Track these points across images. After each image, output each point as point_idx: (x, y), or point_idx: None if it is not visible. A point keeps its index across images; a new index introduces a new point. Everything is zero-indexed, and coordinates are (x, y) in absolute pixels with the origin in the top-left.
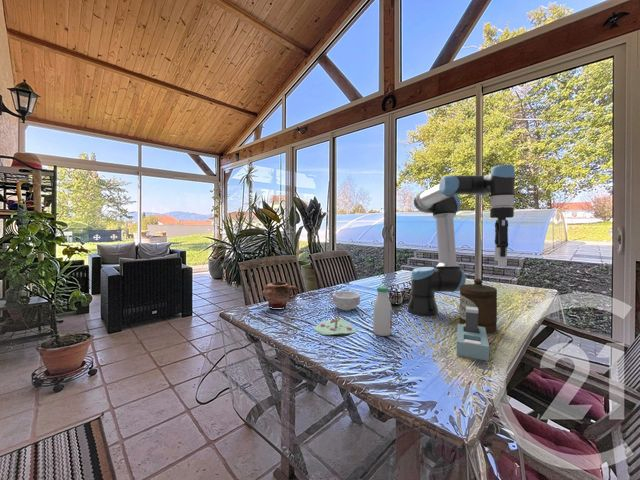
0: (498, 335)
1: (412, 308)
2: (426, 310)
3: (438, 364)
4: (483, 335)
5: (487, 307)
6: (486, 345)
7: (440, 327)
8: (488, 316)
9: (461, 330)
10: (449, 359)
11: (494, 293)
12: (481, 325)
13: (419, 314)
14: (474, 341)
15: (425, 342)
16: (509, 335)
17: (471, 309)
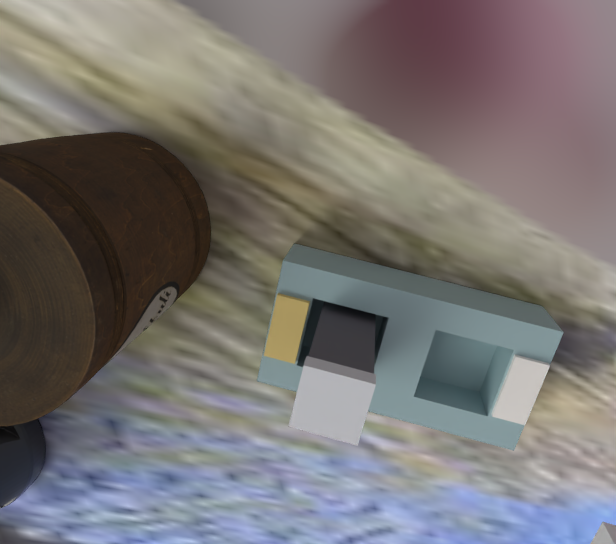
0: (222, 154)
1: (10, 501)
2: (22, 446)
3: (590, 495)
4: (414, 309)
5: (147, 238)
6: (547, 338)
7: (186, 400)
8: (171, 217)
9: None
10: (542, 448)
11: (54, 202)
12: (197, 241)
13: (42, 461)
14: (517, 383)
15: (385, 496)
16: (207, 94)
17: (360, 417)
